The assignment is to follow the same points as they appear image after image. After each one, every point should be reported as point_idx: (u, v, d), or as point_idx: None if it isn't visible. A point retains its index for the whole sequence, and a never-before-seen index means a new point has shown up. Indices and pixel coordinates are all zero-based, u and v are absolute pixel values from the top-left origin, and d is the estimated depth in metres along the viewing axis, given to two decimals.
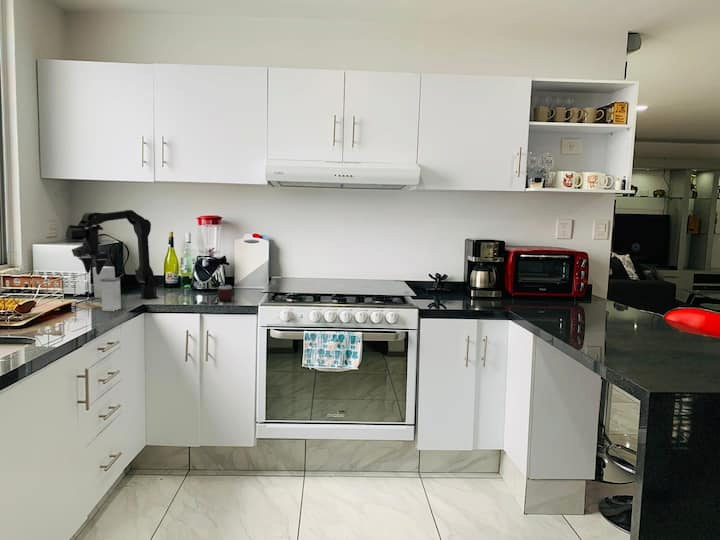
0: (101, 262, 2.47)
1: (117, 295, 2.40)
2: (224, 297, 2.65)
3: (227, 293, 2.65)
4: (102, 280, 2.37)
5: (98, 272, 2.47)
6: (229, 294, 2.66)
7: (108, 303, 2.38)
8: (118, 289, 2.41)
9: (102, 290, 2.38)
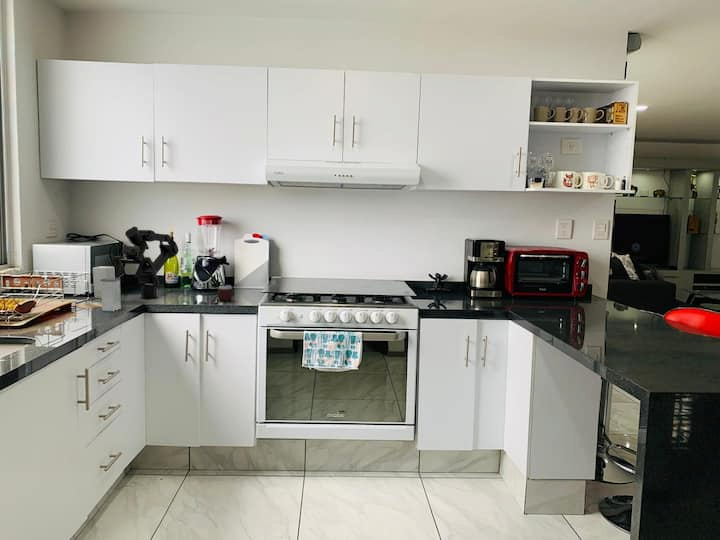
0: (143, 268, 2.56)
1: (117, 295, 2.40)
2: (224, 297, 2.65)
3: (227, 293, 2.65)
4: (102, 280, 2.37)
5: (137, 274, 2.53)
6: (229, 294, 2.66)
7: (108, 303, 2.38)
8: (118, 289, 2.41)
9: (102, 290, 2.38)
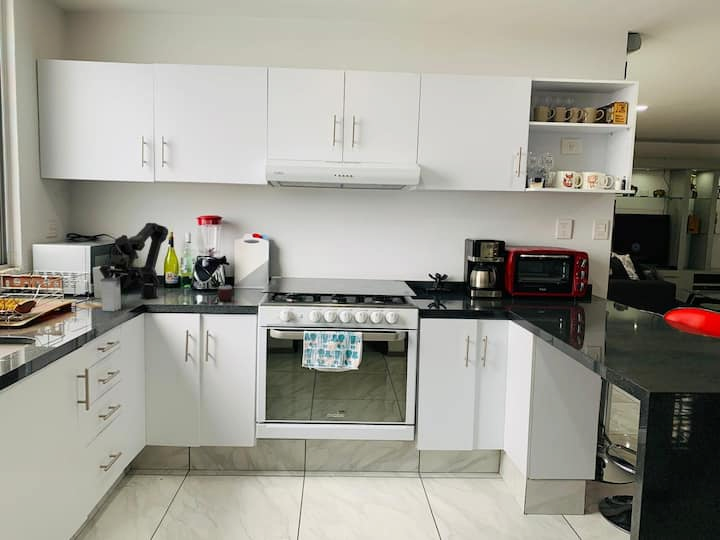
0: (132, 278, 2.46)
1: (117, 295, 2.40)
2: (224, 297, 2.65)
3: (227, 293, 2.65)
4: (102, 280, 2.37)
5: (125, 285, 2.43)
6: (229, 294, 2.66)
7: (108, 303, 2.38)
8: (118, 289, 2.41)
9: (102, 290, 2.38)
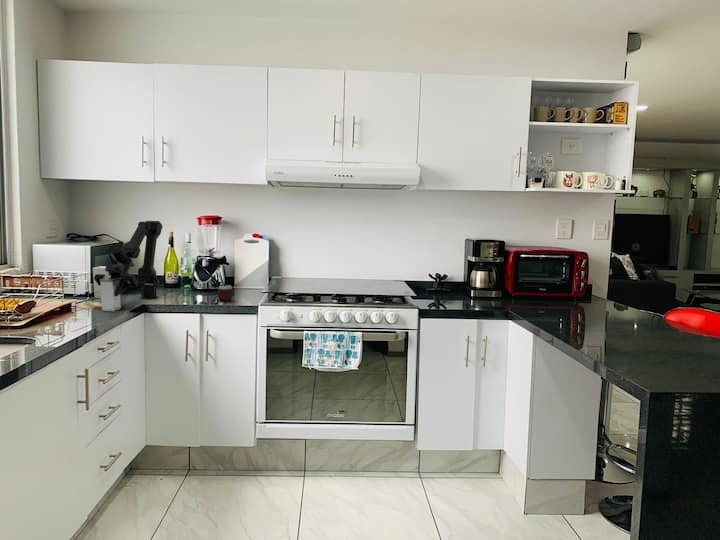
0: (124, 287, 2.43)
1: None
2: (224, 297, 2.65)
3: (227, 293, 2.65)
4: (101, 280, 2.36)
5: (117, 294, 2.39)
6: (229, 294, 2.66)
7: (108, 303, 2.38)
8: None
9: (101, 290, 2.37)
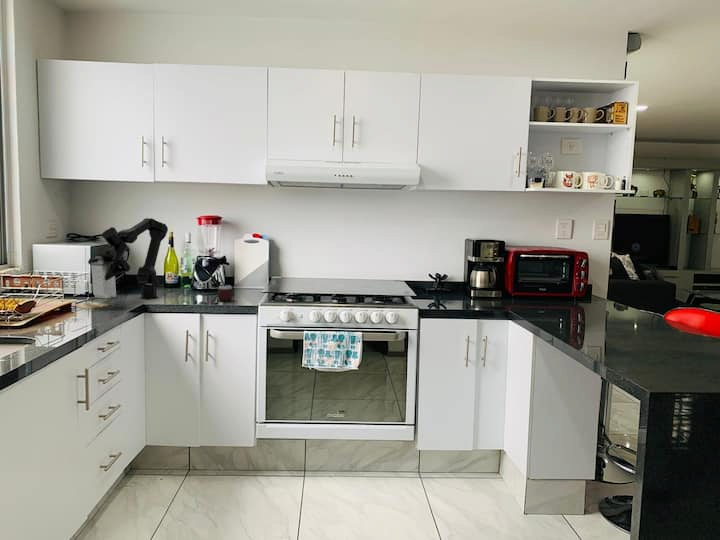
0: (115, 271, 2.43)
1: None
2: (224, 297, 2.65)
3: (227, 293, 2.65)
4: (92, 264, 2.38)
5: (107, 278, 2.40)
6: (229, 294, 2.66)
7: (99, 287, 2.39)
8: None
9: (92, 274, 2.39)
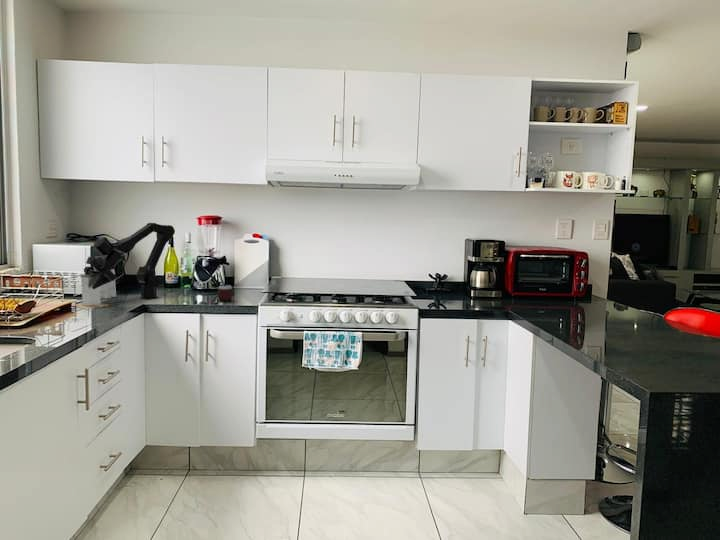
0: (104, 280, 2.48)
1: (95, 291, 2.48)
2: (224, 297, 2.65)
3: (227, 293, 2.65)
4: (81, 276, 2.47)
5: (94, 286, 2.45)
6: (229, 294, 2.66)
7: (86, 298, 2.47)
8: None
9: (82, 285, 2.48)
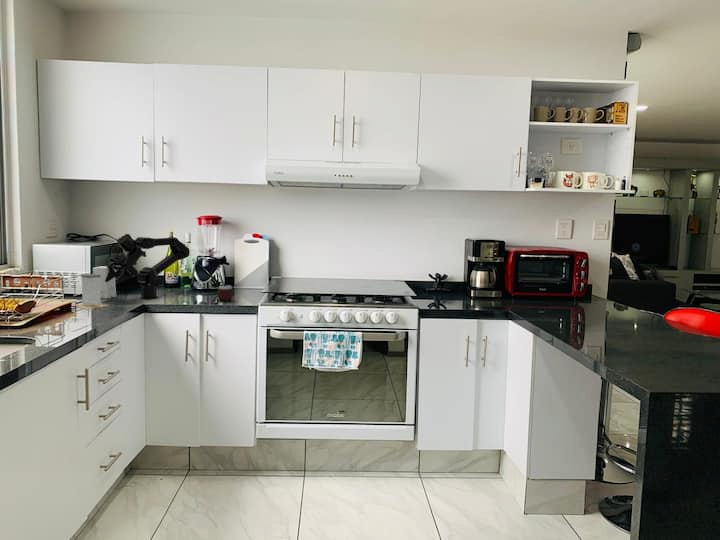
0: (126, 276, 2.56)
1: (95, 291, 2.48)
2: (224, 297, 2.65)
3: (227, 293, 2.65)
4: (82, 276, 2.47)
5: (117, 282, 2.53)
6: (229, 294, 2.66)
7: (86, 299, 2.47)
8: (97, 285, 2.49)
9: (82, 285, 2.48)
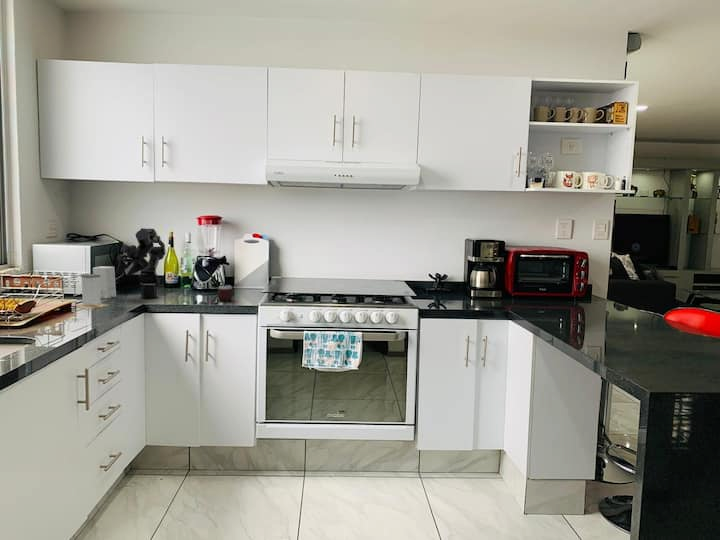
0: (138, 268, 2.57)
1: (95, 291, 2.48)
2: (224, 297, 2.65)
3: (227, 293, 2.65)
4: (82, 276, 2.47)
5: (129, 273, 2.55)
6: (229, 294, 2.66)
7: (86, 299, 2.47)
8: (97, 285, 2.49)
9: (82, 285, 2.48)
